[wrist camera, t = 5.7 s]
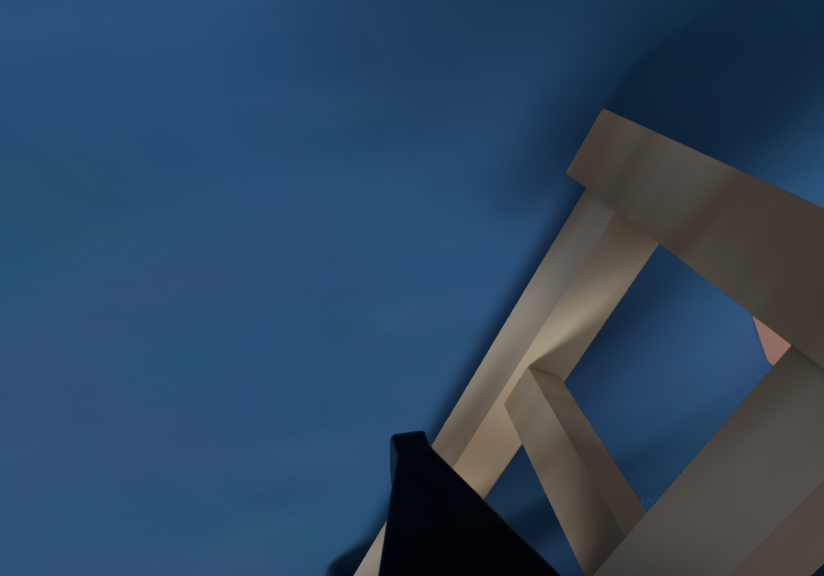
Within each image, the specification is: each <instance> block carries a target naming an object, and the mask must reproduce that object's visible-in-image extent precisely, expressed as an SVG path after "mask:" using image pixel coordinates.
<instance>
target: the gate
mask: <svg viewBox="0 0 824 576" xmlns="http://www.w3.org/2000/svg"><path fill="white" fill-rule="evenodd" d="M566 173H567V174H568V175H569V176H571V177H572V178H573V179H575V180H576V181H577V182H579V183H580V184H581V185H583V186H584V187H585V188H586V189H585V191H584V192H583V194H582V196H581V197H580V199H579V201H578V202H577V204H576V206H575V207H574V209H573V211H572V212H571V214H570V216H569V217H568V219H567V221H566V222H565V224H564V226H563V227H562V229H561V231H560V232H559V234H558V236H557V237H556V239H555V241H554V242H553V244H552V246H551V247H550V249H549V251H548V252H547V254H546V256H545V257H544V259H543V261H542V262H541V264H540V266H539V267H538V269H537V271H536V272H535V274H534V276H533V277H532V279H531V281H530V282H529V284H528V286H527V287H526V289H525V291H524V292H523V294H522V296H521V297H520V299H519V301H518V302H517V304H516V306H515V307H514V309H513V311H512V312H511V314H510V316H509V317H508V319H507V321H506V322H505V324H504V326H503V327H502V329H501V331H500V332H499V334H498V336H497V337H496V339H495V341H494V342H493V344H492V346H491V347H490V349H489V351H488V352H487V354H486V356H485V357H484V359H483V361H482V362H481V364H480V366H479V367H478V369H477V371H476V372H475V374H474V376H473V377H472V379H471V381H470V382H469V384H468V386H467V387H466V389H465V391H464V392H463V394H462V396H461V397H460V399H459V401H458V402H457V404H456V406H455V407H454V409H453V411H452V412H451V414H450V416H449V417H448V419H447V421H446V422H445V424H444V426H443V427H442V429H441V431H440V432H439V434H438V436H437V437H436V439H435V441H434V442H433V444H432V448H433V449H434V450H435V451H436V452H437V453H438V454H439V455H440V456H441V457H442V458H443V459H444V460H445V461H446V462H447V463H448V464H449V465H450V466H451V467H452V468H453V469H454V470H455V471H456V472H457V473H458V474H459V475H460V476H461V477H462V478H463V479H464V480H465V481H466V482H467V483H468V484H469V485H470V486H471V487H472V488H473V489H474V490H475V491H476V492H477V493H478V494H479V495H480V496H481V497H482V498H483V499H485V497H486V496H487V494H488V493H489V491H490V490H491V488H492V487H493V485H494V484H495V482H496V481H497V480H498V478H499V477H500V475H501V474H502V472H503V471H504V469H505V468H506V466H507V465H508V463H509V462H510V461H511V459H512V458H513V456H514V455H515V453H516V452H517V450H518V449H519V447H520V446H521V444H523V446H524V448H525V450H526V453H527V455H528V457H529V459H530V461H531V463H532V465H533V467H534V469H535V472H536V474H537V476H538V478H539V480H540V482H541V484H542V486H543V489H544V491H545V493H546V495H547V497H548V499H549V501H550V503H551V505H552V508H553V510H554V512H555V514H556V516H557V518H558V520H559V522H560V525H561V527H562V529H563V531H564V533H565V535H566V537H567V539H568V541H569V544H570V546H571V548H572V550H573V552H574V554H575V556H576V558H577V561H578V563H579V565H580V567H581V569H582V571H583V573H584V575H585V576H811V575H812V574H813V573H814V572H815V571H817V570H818V569H819V568H820V567H821V566H822V565H823V564H824V208H822V207H819V206H817V205H815V204H813V203H811V202H809V201H806V200H804V199H802V198H800V197H798V196H795V195H793V194H791V193H789V192H787V191H784V190H782V189H780V188H778V187H776V186H773V185H771V184H769V183H767V182H765V181H762V180H760V179H758V178H756V177H754V176H751V175H749V174H747V173H745V172H743V171H740V170H738V169H736V168H734V167H732V166H729V165H727V164H725V163H723V162H721V161H718V160H716V159H714V158H712V157H710V156H707V155H705V154H703V153H701V152H699V151H696V150H694V149H692V148H690V147H688V146H685V145H683V144H681V143H679V142H677V141H674V140H672V139H670V138H668V137H666V136H663V135H661V134H659V133H657V132H655V131H652V130H650V129H648V128H646V127H644V126H641V125H639V124H637V123H635V122H633V121H630V120H628V119H626V118H624V117H622V116H619V115H617V114H615V113H613V112H611V111H608V110H606V109H604V108H603V109H602V110H601V112H600V114H599V115H598V117H597V119H596V121H595V122H594V124H593V126H592V128H591V129H590V131H589V133H588V135H587V136H586V138H585V140H584V141H583V143H582V145H581V147H580V148H579V150H578V152H577V154H576V155H575V157H574V159H573V161H572V162H571V164H570V166H569V167H568V169H567V171H566ZM658 244H660V245H662V246H663V247H664V248H666V249H667V250H668V251H669V252H671V253H672V254H673V255H675V256H676V257H677V258H679V259H680V260H681V261H683V262H684V263H685V264H687V265H688V266H689V267H691V268H692V269H693V270H694V271H696V272H697V273H698V274H700V275H701V276H702V277H704V278H705V279H706V280H708V281H709V282H710V283H712V284H713V285H714V286H716V287H717V288H718V289H719V290H721V291H722V292H723V293H725V294H726V295H727V296H729V297H730V298H731V299H733V300H734V301H735V302H737V303H738V304H739V305H740V306H742V307H743V308H744V309H746V310H747V311H748V312H750V313H751V314H752V315H754V316H755V317H756V318H758V319H759V320H760V321H762V322H763V323H764V324H765V325H767V326H768V327H769V328H771V329H772V330H773V331H775V332H776V333H777V334H779V335H780V336H781V337H783V338H784V339H785V340H787V341H788V342H789V343H790V344H792V345H791V346H790V347H789V348H788V350H787V351H786V352H785V353H784V354H783V355H782V357H781V358H780V359H779V360H778V361H777V362H776V364H775V365H774V366H773V367H772V368H771V369H770V370H769V372H768V373H767V374H766V375H765V376H764V377H763V379H762V380H761V381H760V382H759V383H758V384H757V386H756V387H755V388H754V389H753V390H752V391H751V393H750V394H749V395H748V396H747V397H746V398H745V400H744V401H743V402H742V403H741V404H740V405H739V407H738V408H737V409H736V410H735V411H734V412H733V413H732V415H731V416H730V417H729V418H728V419H727V420H726V422H725V423H724V424H723V425H722V426H721V427H720V429H719V430H718V431H717V432H716V433H715V434H714V436H713V437H712V438H711V439H710V440H709V441H708V443H707V444H706V445H705V446H704V447H703V448H702V450H701V451H700V452H699V453H698V454H697V455H696V456H695V458H694V459H693V460H692V461H691V462H690V463H689V465H688V466H687V467H686V468H685V469H684V470H683V472H682V473H681V474H680V475H679V476H678V477H677V479H676V480H675V481H674V482H673V483H672V484H671V486H670V487H669V488H668V489H667V490H666V491H665V493H664V494H663V495H662V496H661V497H660V498H659V499H658V501H657V502H656V503H655V504H654V505H653V506H652V508H651V509H650V510H649V511H648V512H646V510H645V509H644V507H643V506H642V504H641V502H640V501H639V499H638V498H637V496H636V495H635V493H634V492H633V490H632V488H631V487H630V485H629V484H628V482H627V481H626V479H625V478H624V476H623V474H622V473H621V471H620V470H619V468H618V467H617V465H616V464H615V462H614V460H613V459H612V457H611V456H610V454H609V453H608V451H607V449H606V448H605V446H604V445H603V443H602V442H601V440H600V439H599V437H598V435H597V434H596V432H595V431H594V429H593V428H592V426H591V425H590V423H589V421H588V420H587V418H586V417H585V415H584V414H583V412H582V411H581V409H580V407H579V406H578V404H577V403H576V401H575V400H574V398H573V396H572V395H571V393H570V392H569V390H568V389H567V387H566V386H565V384H564V382H565V380H566V379H567V377H568V376H569V374H570V373H571V371H572V370H573V369H574V367H575V366H576V364H577V363H578V361H579V360H580V358H581V357H582V355H583V354H584V352H585V351H586V350H587V348H588V347H589V345H590V344H591V342H592V341H593V339H594V338H595V336H596V335H597V333H598V332H599V331H600V329H601V328H602V326H603V325H604V323H605V322H606V320H607V319H608V317H609V316H610V314H611V313H612V312H613V310H614V309H615V307H616V306H617V304H618V303H619V301H620V300H621V298H622V297H623V296H624V294H625V293H626V291H627V290H628V288H629V287H630V285H631V284H632V282H633V281H634V279H635V278H636V277H637V275H638V274H639V272H640V271H641V269H642V268H643V266H644V265H645V263H646V262H647V260H648V259H649V258H650V256H651V255H652V253H653V252H654V250H655V249H656V247H657V246H658ZM386 522H387V521H386ZM385 528H386V523H385V524H384V526H383V528H382V529H381V531H380V533H379V534H378V536H377V538H376V539H375V541H374V543H373V544H372V546H371V548H370V549H369V551H368V553H367V554H366V556H365V558H364V559H363V561H362V563H361V564H360V566H359V568H358V569H357V571H356V573H355V574H354V576H378V573H379V566H380V560H381V554H382V547H383V541H384V534H385Z"/></svg>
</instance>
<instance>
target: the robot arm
mask: <svg viewBox="0 0 824 576" xmlns="http://www.w3.org/2000/svg"><path fill="white" fill-rule="evenodd" d="M390 472H391V483H392V490H391V496H390V503H389V509H388V515H387V522H386V528H385V534H384V541H383V547H382V554H381V560H380V566H379V573H378V576H560V574H559V573H558V572H557V571H556V570H555V569H554V568H553V567H552V566H551V565H550V564H549V563H548V562H547V561H546V560H545V559H544V558H543V557H542V556H541V555H540V554H539V553H538V552H537V551H536V550H535V549H534V548H533V547H532V546H531V545H530V544H529V543H528V542H527V541H526V540H525V539H524V538H523V537H522V536H521V535H520V534H518V533H517V532H516V531H515V530H514V529H513V528H512V527H511V526H510V525H509V524H508V523H507V522H506V521H505V520H504V519H503V518H502V517H501V516H500V515H499V514H498V513H497V512H496V511H495V510H494V509H493V508H492V507H491V506H490V505H489V504H488V503H487V502H486V501H485V500H484V499H483V498H482V497H481V496H480V495H479V494H478V493H477V492H476V491H475V490H474V489H473V488H472V487H471V486H470V485H469V484H468V483H467V482H466V481H465V480H464V479H463V478H462V477H461V476H460V475H459V474H458V473H457V472H456V471H455V470H454V469H453V468H452V467H451V466H450V465H449V464H448V463H447V462H446V461H445V460H444V459H443V458H442V457H441V456H440V455H439V454H438V453H437V452H436V451H435V450H434V449H433V448H432V446H431V444H430V441H429V439H428V437H427V435H426V433H425V432H424V431H414V432H407V433H400V434H394V435H393V436H392V437H391V440H390Z"/></svg>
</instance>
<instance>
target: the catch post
mask: <svg viewBox="0 0 824 576" xmlns="http://www.w3.org/2000/svg"><path fill="white" fill-rule="evenodd" d="M752 316H753V319H754V322H755V325H756V328H757V331H758V334H759V337H760V340H761V343H762V346H763V349H764V352H765V355H766V357H767V360H768V361H769V362H770V363H771V364H772V365H773V366H774V365H775V364H776V362H777V361H778V360H779V359H780V358H781V357H782V355H783V354H784V353H785V352H786V351H787V350H788V348H789V347H790V346H791V345H792V344H790V343H789V342H788V341H787V340H785V339H784V338H783V337H781V336H780V335H779V334H777V333H776V332H775V331H773V330H772V329H771V328H769V327H768V326H767V325H765V324H764V323H763V322H762V321H760V320H759V319H758V318H756V317H755V316H754V315H752Z"/></svg>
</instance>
